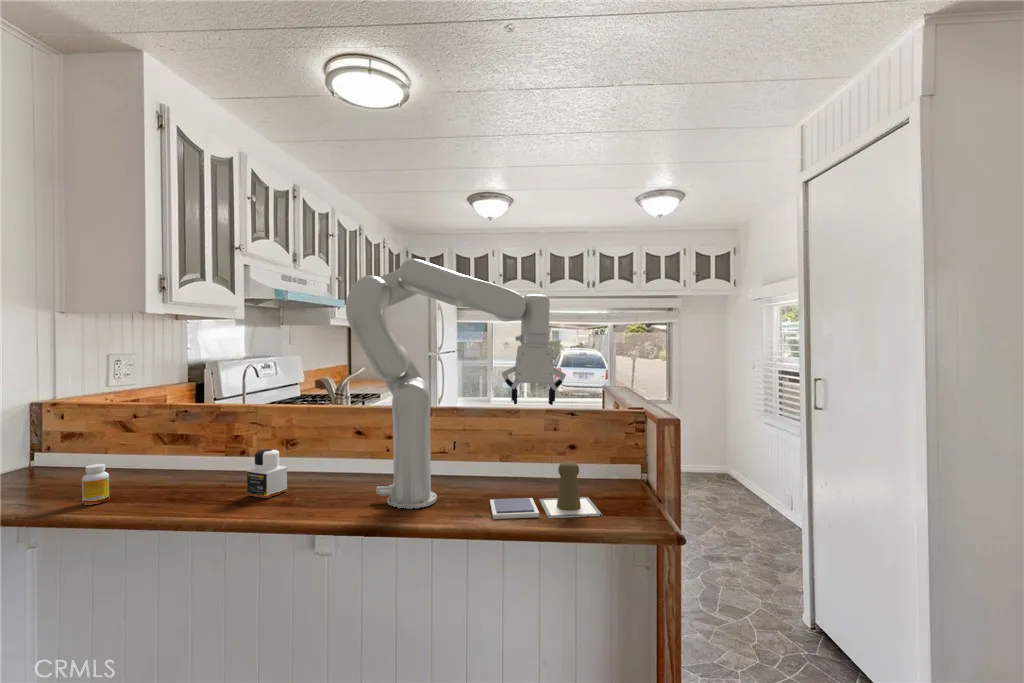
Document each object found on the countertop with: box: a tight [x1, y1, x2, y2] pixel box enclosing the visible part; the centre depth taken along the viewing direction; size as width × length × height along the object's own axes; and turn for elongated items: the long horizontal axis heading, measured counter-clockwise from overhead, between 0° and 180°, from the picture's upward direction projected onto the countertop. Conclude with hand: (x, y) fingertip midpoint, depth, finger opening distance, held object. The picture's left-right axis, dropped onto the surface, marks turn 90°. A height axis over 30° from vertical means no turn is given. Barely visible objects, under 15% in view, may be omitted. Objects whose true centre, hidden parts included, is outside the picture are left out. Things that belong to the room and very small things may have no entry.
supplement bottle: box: [81, 463, 110, 502], centre depth 132 cm, size 5×5×10 cm
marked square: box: [538, 496, 603, 519], centre depth 127 cm, size 13×13×1 cm
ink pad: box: [489, 497, 540, 520], centre depth 125 cm, size 11×11×1 cm
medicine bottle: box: [246, 448, 288, 496], centre depth 139 cm, size 7×7×12 cm
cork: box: [557, 461, 581, 511], centre depth 127 cm, size 6×6×11 cm
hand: (533, 403), depth 137 cm, fingers open, 9 cm apart
